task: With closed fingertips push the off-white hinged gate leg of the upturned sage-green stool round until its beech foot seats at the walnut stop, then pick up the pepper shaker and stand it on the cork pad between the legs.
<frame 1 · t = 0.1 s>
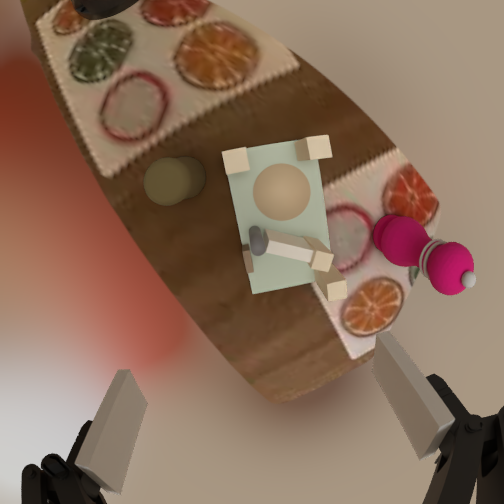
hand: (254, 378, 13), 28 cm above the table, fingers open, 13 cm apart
pepper shaker: (184, 177, 37), on the table
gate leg: (295, 247, 34), point 6 cm above the table, hinge at 65.0°
pepper mill: (388, 233, 40), on the table
stand: (280, 215, 39), on the table
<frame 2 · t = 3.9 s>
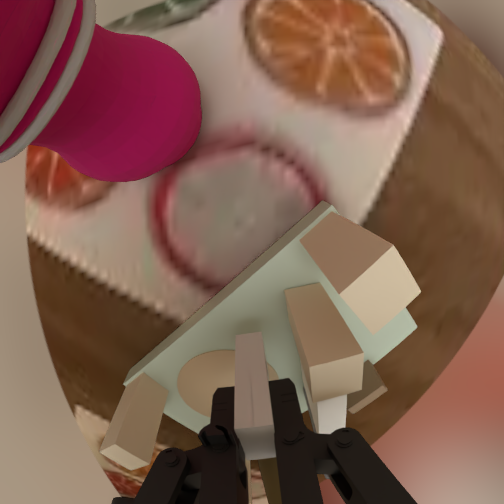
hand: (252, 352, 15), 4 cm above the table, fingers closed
pepper shaker: (283, 446, 25), on the table
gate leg: (321, 371, 14), point 6 cm above the table, hinge at 58.2°, touching gripper
pepper mill: (154, 121, 15), on the table
stand: (266, 351, 20), on the table
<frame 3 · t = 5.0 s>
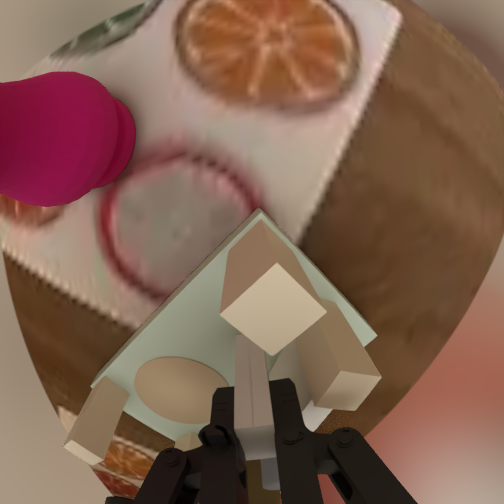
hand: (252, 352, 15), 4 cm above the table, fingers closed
pepper shaker: (253, 449, 25), on the table
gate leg: (305, 382, 14), point 6 cm above the table, hinge at 24.8°, touching gripper
pepper mill: (96, 141, 15), on the table
stand: (219, 358, 20), on the table
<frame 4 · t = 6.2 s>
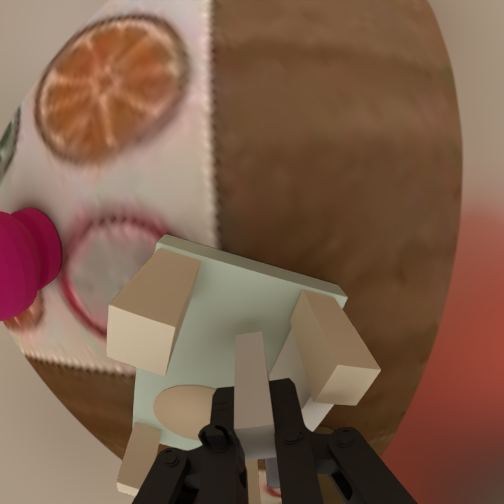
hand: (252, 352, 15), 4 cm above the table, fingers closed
pepper shaker: (308, 440, 24), on the table
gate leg: (306, 378, 14), point 6 cm above the table, hinge at 0.2°, touching gripper
pepper mill: (36, 245, 17), on the table
stand: (216, 373, 21), on the table
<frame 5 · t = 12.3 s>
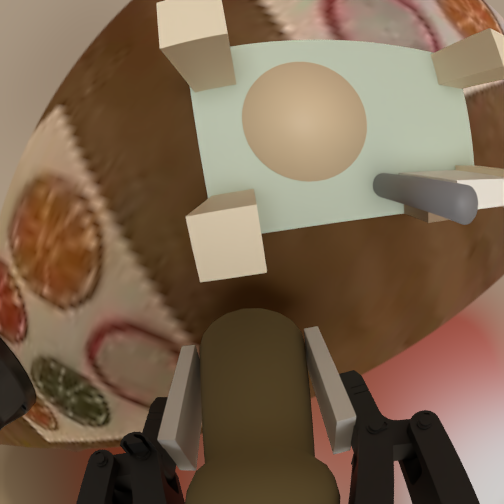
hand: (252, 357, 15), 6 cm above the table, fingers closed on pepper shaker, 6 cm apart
pepper shaker: (252, 351, 15), point 6 cm above the table, touching gripper
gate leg: (473, 186, 12), point 6 cm above the table, hinge at 0.2°
stand: (351, 127, 17), on the table
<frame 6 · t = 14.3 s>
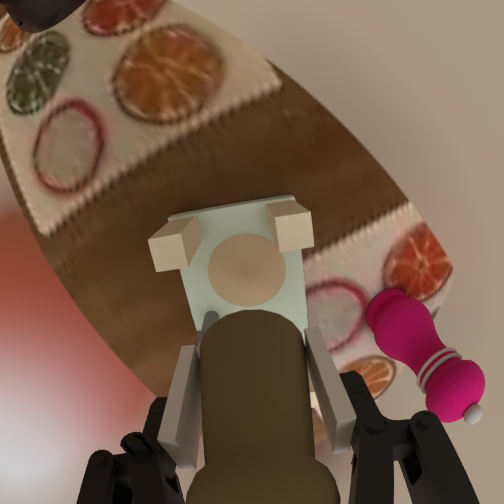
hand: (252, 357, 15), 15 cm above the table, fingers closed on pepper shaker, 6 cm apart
pepper shaker: (252, 352, 15), point 15 cm above the table, touching gripper
pepper mill: (386, 309, 32), on the table
stand: (247, 294, 30), on the table
when the fingers open (4 cm above the table, at t = 16.5 s): pepper shaker drops 1 cm, resting on stand.
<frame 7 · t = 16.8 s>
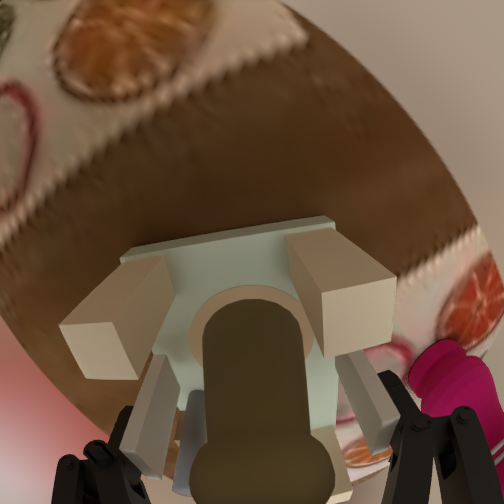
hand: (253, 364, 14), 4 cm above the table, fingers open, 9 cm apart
pepper shaker: (252, 340, 16), point 2 cm above the table, touching stand
pepper mill: (432, 363, 21), on the table
stand: (251, 363, 19), on the table
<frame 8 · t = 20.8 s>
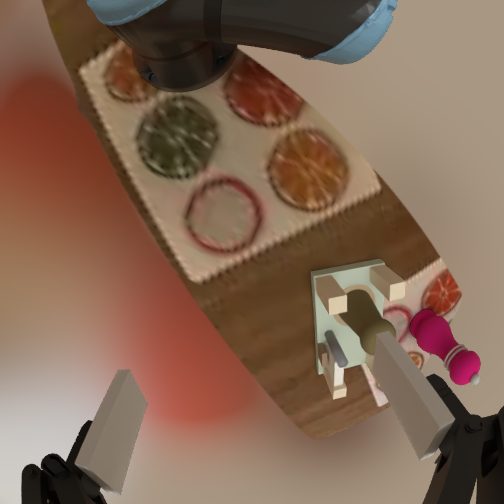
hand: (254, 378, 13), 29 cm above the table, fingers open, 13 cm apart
pepper shaker: (354, 305, 42), point 2 cm above the table, touching stand
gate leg: (334, 369, 42), point 6 cm above the table, hinge at 0.2°
pepper mill: (421, 321, 47), on the table
stand: (347, 318, 45), on the table
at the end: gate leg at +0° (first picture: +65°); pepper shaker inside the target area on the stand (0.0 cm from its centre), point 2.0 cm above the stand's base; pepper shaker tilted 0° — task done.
